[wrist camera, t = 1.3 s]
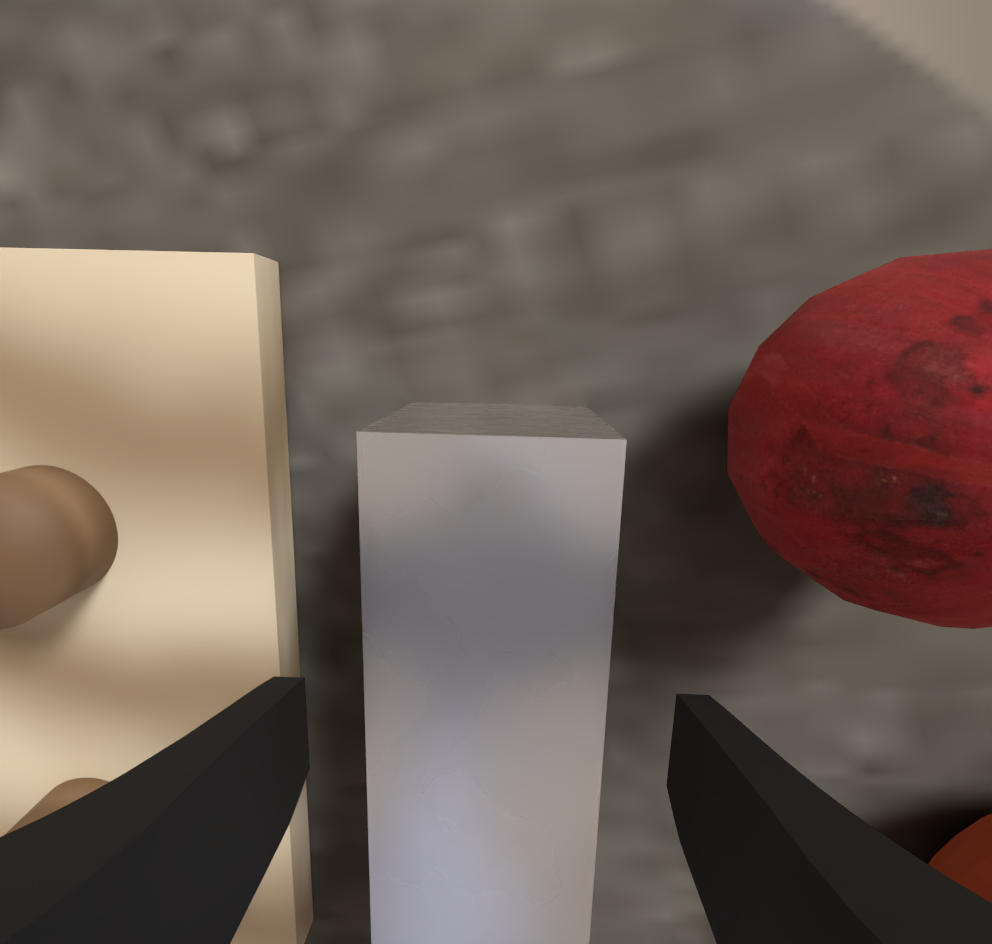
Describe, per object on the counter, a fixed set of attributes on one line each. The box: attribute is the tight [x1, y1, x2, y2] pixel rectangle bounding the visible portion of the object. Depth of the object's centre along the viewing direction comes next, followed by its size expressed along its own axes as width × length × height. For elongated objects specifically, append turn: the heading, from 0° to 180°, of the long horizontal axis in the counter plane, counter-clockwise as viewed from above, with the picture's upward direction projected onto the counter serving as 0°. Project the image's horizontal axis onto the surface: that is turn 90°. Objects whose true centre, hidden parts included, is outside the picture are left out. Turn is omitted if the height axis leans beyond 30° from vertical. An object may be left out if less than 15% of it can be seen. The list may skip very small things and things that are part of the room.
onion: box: [727, 249, 992, 629], centre depth 9 cm, size 6×6×8 cm
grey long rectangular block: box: [357, 402, 627, 944], centre depth 12 cm, size 12×4×5 cm, turn 179°
